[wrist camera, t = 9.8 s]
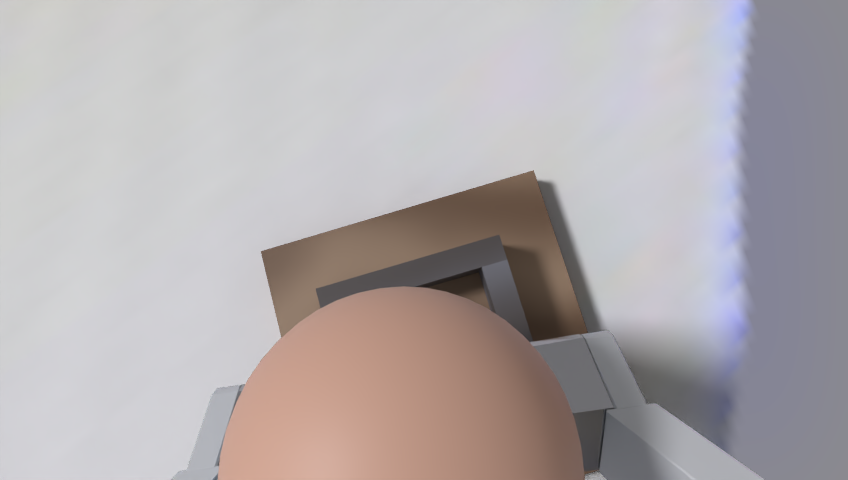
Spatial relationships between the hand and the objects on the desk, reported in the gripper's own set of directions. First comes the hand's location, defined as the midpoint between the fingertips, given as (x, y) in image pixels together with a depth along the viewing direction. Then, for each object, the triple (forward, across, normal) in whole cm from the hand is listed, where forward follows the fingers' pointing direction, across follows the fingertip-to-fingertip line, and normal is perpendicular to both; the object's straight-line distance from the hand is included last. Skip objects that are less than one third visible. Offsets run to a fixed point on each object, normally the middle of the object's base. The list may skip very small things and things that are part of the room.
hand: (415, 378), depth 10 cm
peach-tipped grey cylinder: (+4, 0, +5) cm, 7 cm away
